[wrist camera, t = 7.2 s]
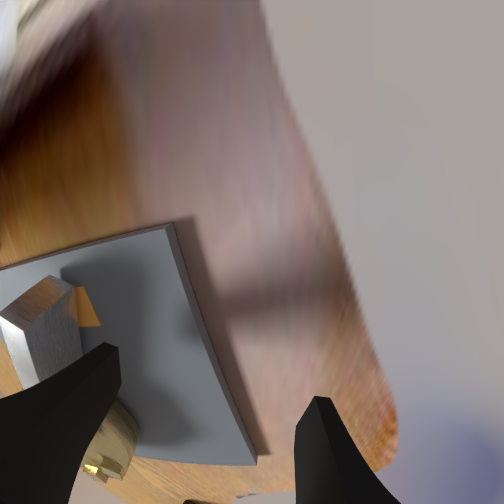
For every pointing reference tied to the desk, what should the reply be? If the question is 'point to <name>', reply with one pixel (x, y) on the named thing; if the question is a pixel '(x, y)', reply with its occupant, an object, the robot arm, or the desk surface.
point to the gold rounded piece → (57, 358)
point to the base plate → (148, 342)
